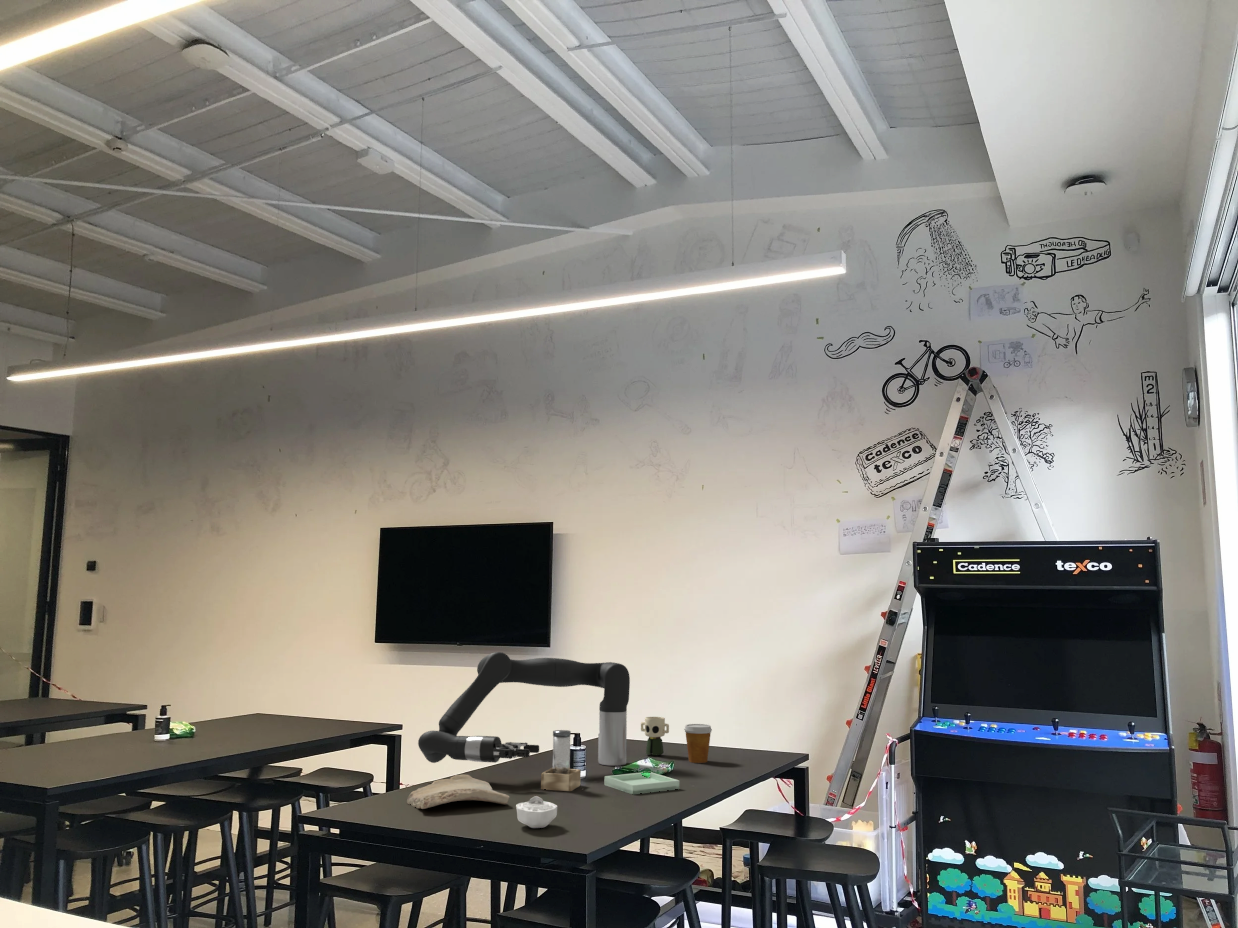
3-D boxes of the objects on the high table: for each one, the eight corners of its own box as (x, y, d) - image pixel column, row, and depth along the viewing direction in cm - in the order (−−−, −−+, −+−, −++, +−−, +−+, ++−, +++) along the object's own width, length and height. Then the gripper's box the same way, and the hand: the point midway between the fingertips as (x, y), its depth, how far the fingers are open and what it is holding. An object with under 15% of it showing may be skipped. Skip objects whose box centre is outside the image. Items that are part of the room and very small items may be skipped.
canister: (548, 786, 286) (549, 730, 288) (564, 784, 288) (565, 729, 290) (557, 789, 281) (558, 732, 283) (572, 787, 284) (573, 731, 286)
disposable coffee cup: (712, 759, 336) (711, 723, 337) (712, 764, 326) (711, 727, 328) (684, 758, 337) (684, 723, 338) (683, 763, 327) (683, 726, 329)
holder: (540, 789, 281) (541, 773, 282) (550, 783, 290) (551, 767, 291) (571, 790, 279) (571, 774, 280) (580, 785, 288) (580, 769, 289)
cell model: (513, 832, 229) (514, 803, 230) (516, 821, 241) (517, 792, 242) (556, 832, 230) (557, 803, 231) (557, 821, 242) (557, 792, 243)
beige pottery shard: (402, 805, 264) (422, 812, 246) (404, 776, 266) (423, 781, 248) (488, 800, 274) (512, 807, 257) (488, 773, 276) (513, 778, 259)
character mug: (636, 755, 343) (636, 717, 345) (644, 752, 349) (645, 715, 351) (664, 757, 338) (664, 719, 340) (672, 755, 344) (672, 717, 346)
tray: (604, 784, 289) (604, 776, 289) (649, 780, 297) (649, 771, 297) (632, 794, 275) (632, 785, 275) (679, 789, 283) (679, 780, 283)
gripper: (474, 739, 286) (526, 741, 282) (492, 732, 299) (542, 734, 296) (473, 765, 285) (525, 768, 281) (491, 757, 298) (541, 760, 295)
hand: (534, 751), depth 288 cm, fingers open, 8 cm apart
